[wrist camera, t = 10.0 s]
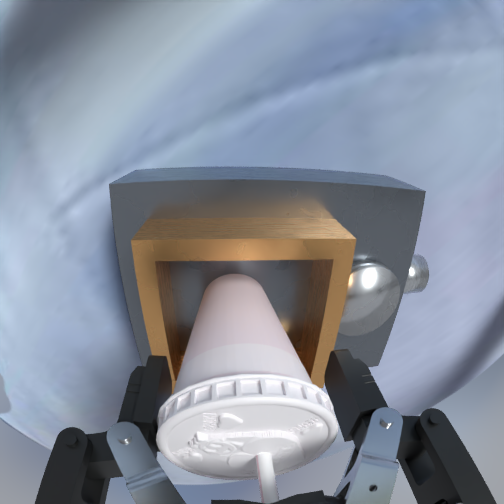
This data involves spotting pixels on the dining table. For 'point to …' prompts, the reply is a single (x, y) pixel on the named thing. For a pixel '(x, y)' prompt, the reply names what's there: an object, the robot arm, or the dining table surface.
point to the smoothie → (243, 394)
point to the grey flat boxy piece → (269, 253)
